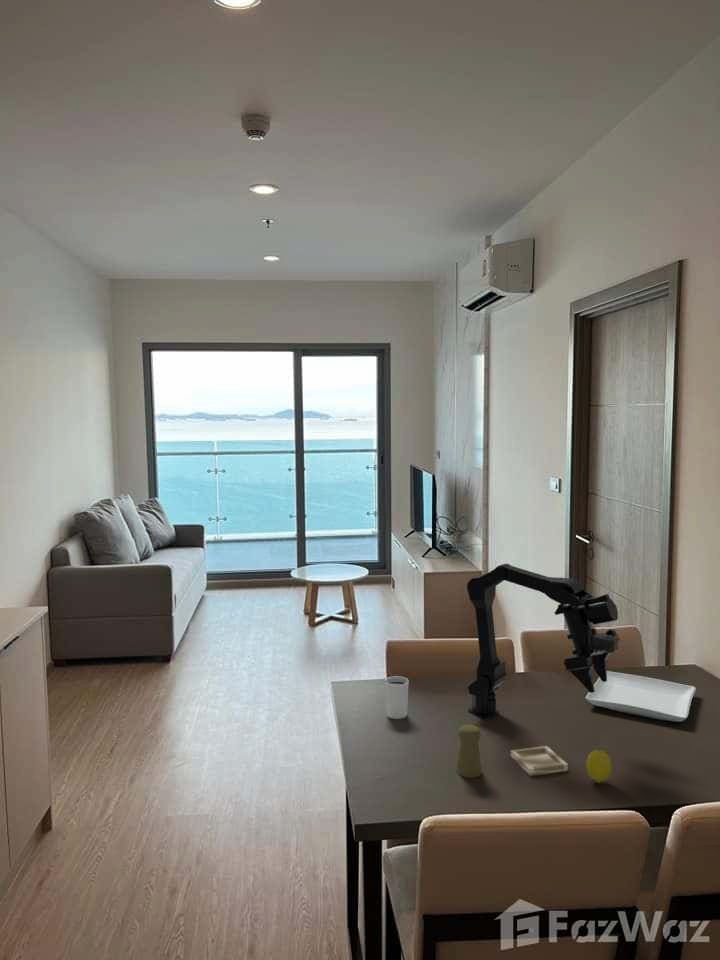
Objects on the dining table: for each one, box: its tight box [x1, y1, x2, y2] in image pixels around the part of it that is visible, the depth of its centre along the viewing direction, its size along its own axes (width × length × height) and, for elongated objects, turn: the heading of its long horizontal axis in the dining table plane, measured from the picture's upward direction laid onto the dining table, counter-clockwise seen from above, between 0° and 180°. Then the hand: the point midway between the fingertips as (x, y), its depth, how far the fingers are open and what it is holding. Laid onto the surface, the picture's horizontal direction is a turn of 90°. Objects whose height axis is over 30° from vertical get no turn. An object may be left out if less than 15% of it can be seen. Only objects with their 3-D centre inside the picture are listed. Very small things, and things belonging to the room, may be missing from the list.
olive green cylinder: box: [456, 724, 483, 779], centre depth 172 cm, size 6×6×11 cm
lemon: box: [585, 748, 613, 784], centre depth 167 cm, size 6×6×8 cm
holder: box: [510, 745, 569, 777], centre depth 176 cm, size 10×10×2 cm
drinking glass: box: [384, 675, 410, 720], centre depth 205 cm, size 7×7×10 cm
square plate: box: [585, 670, 697, 723], centre depth 214 cm, size 27×27×4 cm
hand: (598, 686), depth 185 cm, fingers open, 9 cm apart
